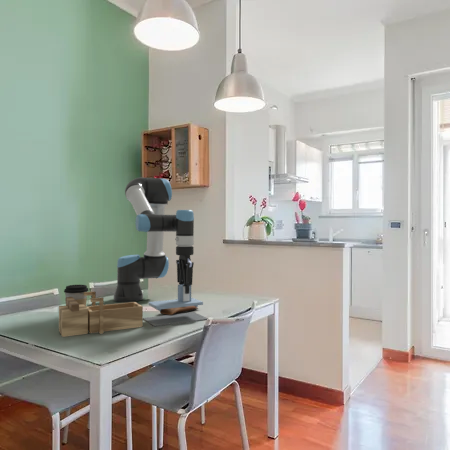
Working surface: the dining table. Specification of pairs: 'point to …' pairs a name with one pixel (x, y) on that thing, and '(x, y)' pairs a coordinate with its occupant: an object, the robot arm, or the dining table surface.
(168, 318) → the mat
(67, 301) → the key
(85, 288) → the coffee cup
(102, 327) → the toolbox
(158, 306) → the lid
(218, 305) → the dining table surface
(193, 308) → the sunglasses case
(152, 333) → the dining table surface
